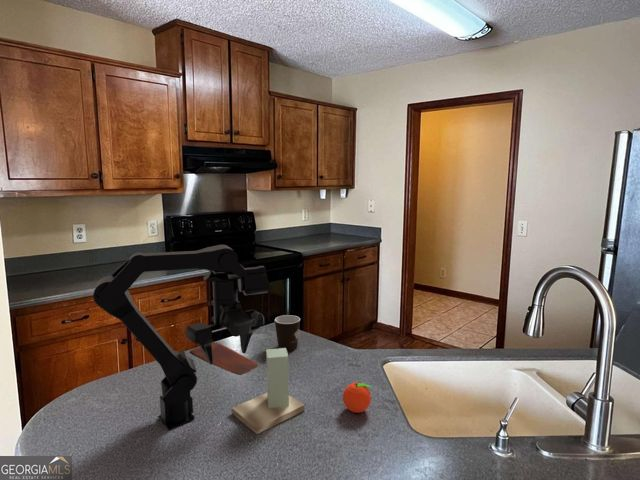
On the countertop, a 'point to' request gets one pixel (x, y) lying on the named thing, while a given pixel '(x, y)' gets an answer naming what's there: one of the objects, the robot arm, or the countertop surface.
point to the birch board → (265, 413)
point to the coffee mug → (287, 331)
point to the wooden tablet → (227, 359)
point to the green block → (277, 377)
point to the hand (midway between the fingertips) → (227, 358)
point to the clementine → (357, 397)
